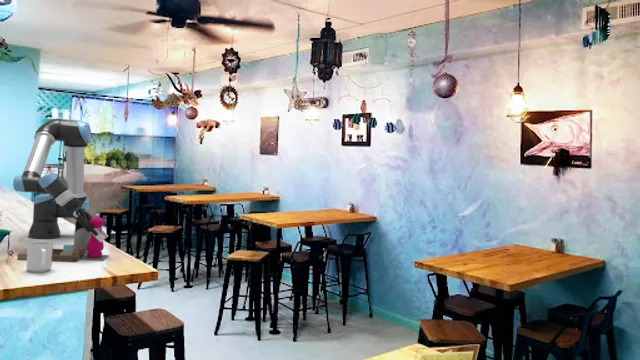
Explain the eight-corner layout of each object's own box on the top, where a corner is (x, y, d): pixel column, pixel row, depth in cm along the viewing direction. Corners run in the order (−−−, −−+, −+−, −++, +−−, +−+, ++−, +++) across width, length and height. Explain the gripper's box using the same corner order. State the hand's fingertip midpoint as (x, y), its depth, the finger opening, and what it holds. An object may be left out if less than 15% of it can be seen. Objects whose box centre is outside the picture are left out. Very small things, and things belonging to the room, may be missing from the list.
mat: (86, 254, 227) (86, 254, 227) (108, 255, 229) (108, 255, 229) (79, 259, 217) (80, 258, 217) (103, 260, 219) (103, 259, 219)
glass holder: (72, 254, 226) (74, 222, 225) (72, 248, 239) (74, 218, 238) (92, 254, 230) (94, 223, 229) (91, 248, 243) (93, 218, 242)
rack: (29, 253, 221) (30, 244, 221) (84, 255, 226) (84, 247, 226) (17, 259, 208) (17, 250, 208) (75, 262, 213) (76, 253, 212)
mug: (24, 268, 196) (25, 241, 195) (48, 266, 202) (50, 240, 201) (29, 275, 187) (31, 247, 186) (55, 273, 192) (56, 246, 192)
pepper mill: (96, 258, 219) (99, 215, 218) (82, 256, 220) (85, 213, 219) (106, 255, 226) (109, 213, 225) (92, 253, 227) (95, 212, 227)
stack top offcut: (63, 251, 220) (64, 244, 220) (73, 251, 221) (74, 244, 221) (63, 253, 216) (63, 246, 216) (72, 253, 218) (73, 246, 217)
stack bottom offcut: (65, 257, 221) (65, 250, 221) (76, 257, 221) (76, 251, 221) (60, 259, 216) (60, 252, 216) (71, 260, 216) (71, 253, 216)
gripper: (68, 204, 228) (102, 240, 232) (55, 209, 210) (92, 248, 214) (81, 194, 229) (115, 230, 233) (68, 198, 211) (106, 237, 215)
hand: (104, 239), depth 224 cm, fingers closed on pepper mill, 5 cm apart
